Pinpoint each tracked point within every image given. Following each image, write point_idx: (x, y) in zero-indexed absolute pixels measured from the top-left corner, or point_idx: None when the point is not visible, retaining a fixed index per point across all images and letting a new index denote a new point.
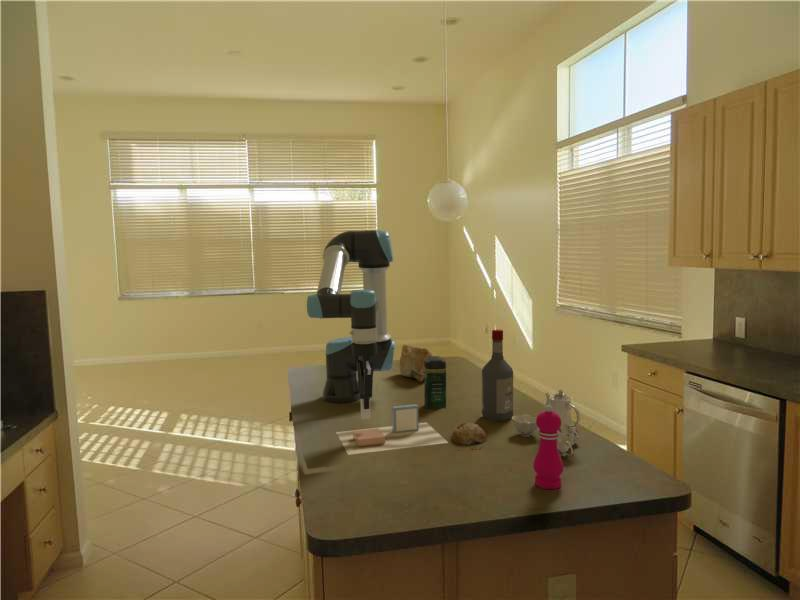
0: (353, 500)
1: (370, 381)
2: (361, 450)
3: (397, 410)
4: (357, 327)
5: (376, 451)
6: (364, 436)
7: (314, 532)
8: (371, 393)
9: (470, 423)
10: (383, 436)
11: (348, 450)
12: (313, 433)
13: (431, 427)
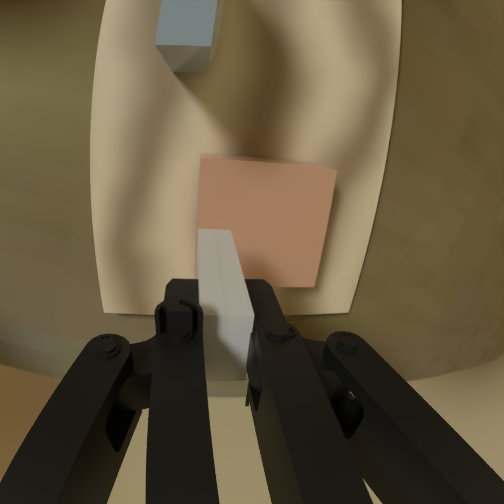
0: (488, 315)
1: (467, 474)
2: (338, 268)
3: (219, 24)
4: None
5: (372, 222)
6: (290, 256)
7: (496, 358)
8: (381, 365)
9: None
10: (330, 176)
11: (314, 306)
12: (71, 355)
13: None
